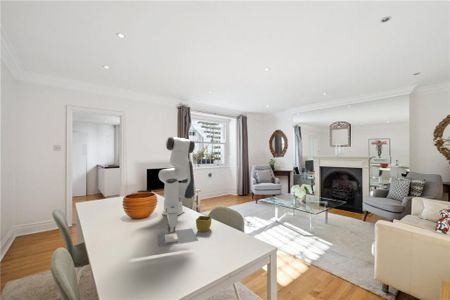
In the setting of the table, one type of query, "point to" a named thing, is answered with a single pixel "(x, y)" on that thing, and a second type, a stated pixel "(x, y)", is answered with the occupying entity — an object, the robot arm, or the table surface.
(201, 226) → the flower pot
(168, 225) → the walnut block
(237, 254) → the table surface
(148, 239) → the table surface
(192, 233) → the board
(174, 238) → the tile
